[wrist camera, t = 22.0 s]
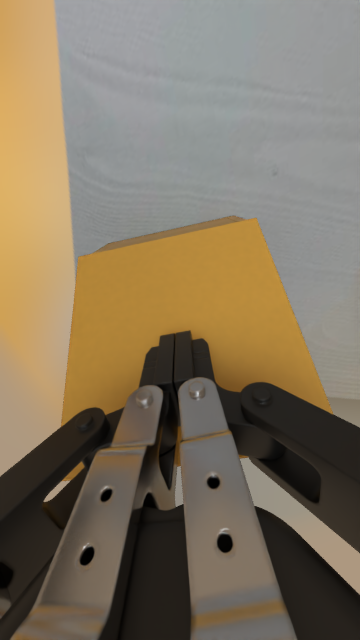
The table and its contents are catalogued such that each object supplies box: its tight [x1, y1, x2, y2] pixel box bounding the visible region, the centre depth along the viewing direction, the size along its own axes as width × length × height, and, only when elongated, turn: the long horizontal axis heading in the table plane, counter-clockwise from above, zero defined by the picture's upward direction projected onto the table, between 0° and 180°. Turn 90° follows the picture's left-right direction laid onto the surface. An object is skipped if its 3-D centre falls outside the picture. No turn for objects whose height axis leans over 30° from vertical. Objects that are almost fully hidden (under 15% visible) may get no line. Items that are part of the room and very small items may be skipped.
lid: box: [61, 218, 333, 481], centre depth 14 cm, size 14×13×1 cm
